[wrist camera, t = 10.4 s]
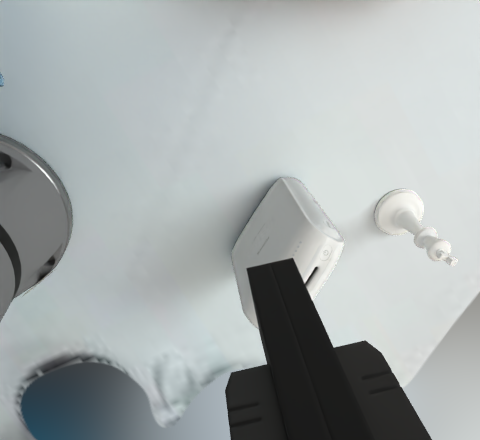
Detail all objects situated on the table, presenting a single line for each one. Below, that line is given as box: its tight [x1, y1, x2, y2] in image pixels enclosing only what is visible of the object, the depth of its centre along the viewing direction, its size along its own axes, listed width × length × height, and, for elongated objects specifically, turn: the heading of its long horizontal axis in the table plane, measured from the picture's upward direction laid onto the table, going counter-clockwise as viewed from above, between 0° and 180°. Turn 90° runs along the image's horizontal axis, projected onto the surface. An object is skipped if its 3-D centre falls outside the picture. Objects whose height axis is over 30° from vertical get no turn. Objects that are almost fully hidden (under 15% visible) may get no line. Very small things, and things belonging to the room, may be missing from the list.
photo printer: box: [231, 177, 345, 329], centre depth 37 cm, size 10×4×12 cm, turn 149°
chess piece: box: [374, 189, 458, 266], centre depth 39 cm, size 5×5×10 cm
